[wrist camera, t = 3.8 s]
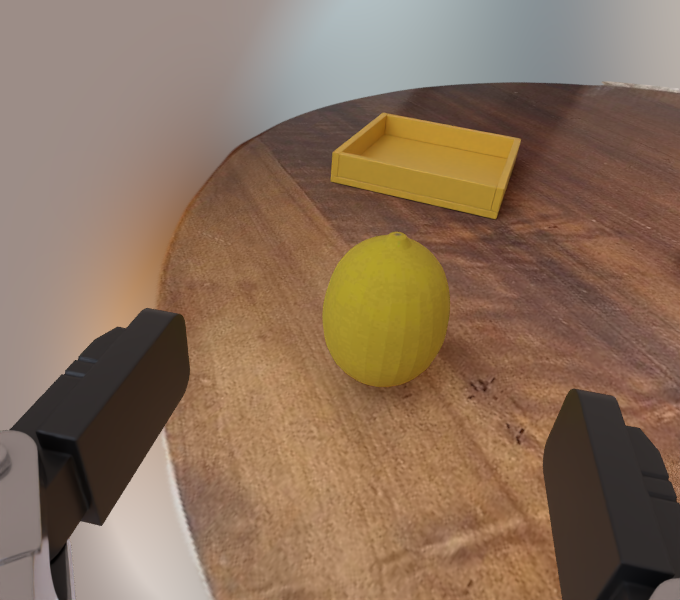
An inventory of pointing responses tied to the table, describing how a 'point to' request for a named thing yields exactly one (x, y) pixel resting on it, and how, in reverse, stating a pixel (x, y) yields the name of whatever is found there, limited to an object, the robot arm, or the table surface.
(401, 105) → the table surface
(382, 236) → the lemon
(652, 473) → the robot arm
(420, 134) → the yellow tray
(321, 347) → the table surface
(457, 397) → the table surface
